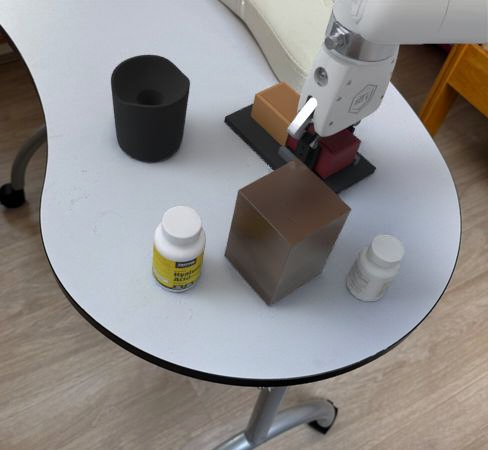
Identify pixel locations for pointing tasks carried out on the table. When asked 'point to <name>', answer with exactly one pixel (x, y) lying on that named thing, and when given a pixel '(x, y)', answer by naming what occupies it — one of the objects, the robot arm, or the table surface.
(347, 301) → the table surface
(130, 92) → the pen holder
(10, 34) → the table surface
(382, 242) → the pill bottle
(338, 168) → the red lidded box
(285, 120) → the small orange-brown block
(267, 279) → the tall brown block
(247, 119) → the base mat
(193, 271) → the supplement bottle
